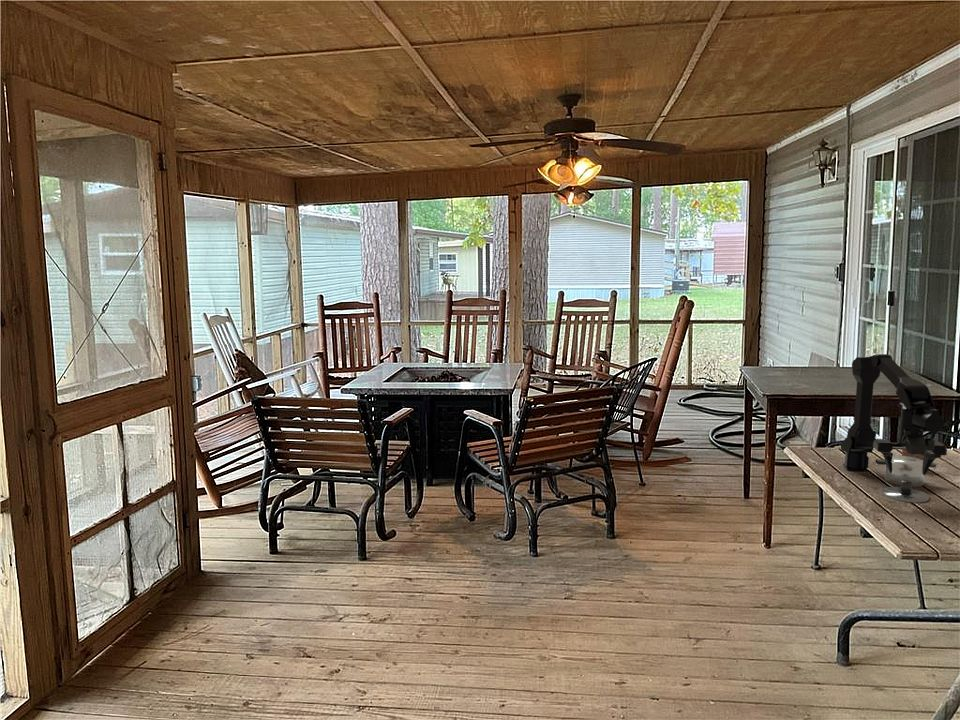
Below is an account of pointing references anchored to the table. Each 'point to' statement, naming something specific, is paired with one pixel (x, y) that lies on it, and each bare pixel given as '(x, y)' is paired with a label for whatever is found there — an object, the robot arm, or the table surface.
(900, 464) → the pot
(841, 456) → the table surface
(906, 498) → the lid
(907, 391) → the robot arm
